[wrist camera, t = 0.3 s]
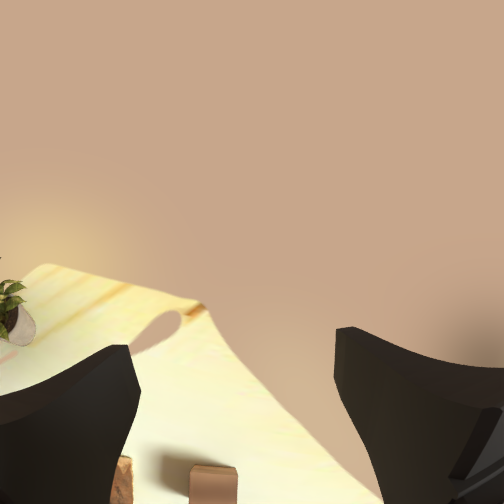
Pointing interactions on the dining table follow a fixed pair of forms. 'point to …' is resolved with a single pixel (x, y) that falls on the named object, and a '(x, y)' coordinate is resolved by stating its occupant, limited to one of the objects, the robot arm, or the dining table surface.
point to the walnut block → (213, 485)
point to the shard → (122, 482)
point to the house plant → (14, 316)
